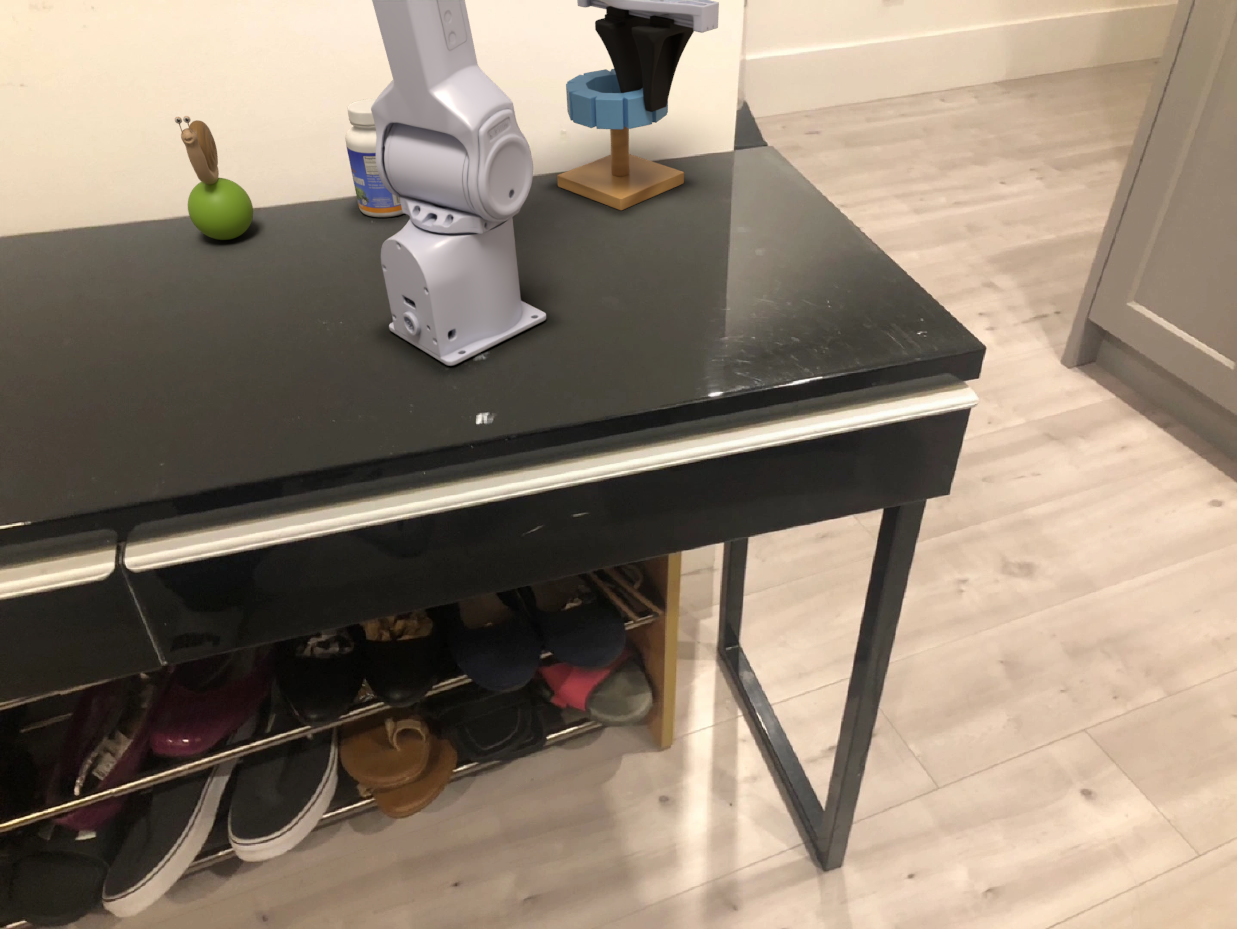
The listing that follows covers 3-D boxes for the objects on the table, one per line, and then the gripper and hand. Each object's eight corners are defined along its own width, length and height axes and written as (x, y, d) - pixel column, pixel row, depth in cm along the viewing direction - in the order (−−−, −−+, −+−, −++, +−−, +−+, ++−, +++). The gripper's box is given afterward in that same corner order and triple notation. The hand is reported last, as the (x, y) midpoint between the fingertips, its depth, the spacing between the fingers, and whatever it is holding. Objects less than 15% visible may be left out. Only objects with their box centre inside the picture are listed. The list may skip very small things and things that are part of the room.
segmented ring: (618, 137, 79) (618, 106, 78) (547, 114, 84) (545, 85, 83) (687, 110, 84) (688, 81, 83) (616, 90, 89) (615, 62, 88)
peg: (621, 210, 87) (619, 134, 82) (557, 186, 92) (552, 113, 87) (684, 183, 92) (685, 110, 87) (620, 161, 97) (618, 91, 92)
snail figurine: (192, 257, 81) (145, 120, 74) (203, 228, 86) (160, 96, 79) (256, 250, 82) (215, 114, 74) (262, 221, 87) (225, 90, 79)
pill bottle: (357, 200, 90) (335, 99, 84) (412, 193, 91) (395, 92, 85) (362, 222, 86) (340, 117, 80) (419, 214, 87) (402, 110, 81)
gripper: (747, -68, 71) (737, 111, 80) (615, -85, 79) (619, 79, 88) (686, -54, 67) (683, 132, 76) (554, -74, 75) (565, 96, 84)
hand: (645, 105), depth 81 cm, fingers closed on segmented ring, 2 cm apart
